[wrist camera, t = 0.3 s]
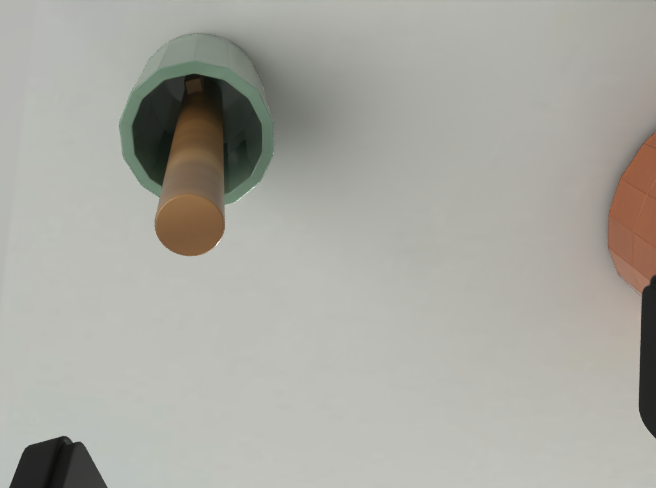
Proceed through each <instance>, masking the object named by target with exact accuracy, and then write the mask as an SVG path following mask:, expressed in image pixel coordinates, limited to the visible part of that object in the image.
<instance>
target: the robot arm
mask: <svg viewBox="0 0 656 488" xmlns="http://www.w3.org/2000/svg"><path fill="white" fill-rule="evenodd" d="M639 412H640V416H641V418H642V421H643V423H644V424H645V426H646V428H647V429H648V430H649V431H650V433H651V434H652V435H653V436H654V437H655V438H656V275H654V276H652V278H651V280H650V285H649V286H646V287H644V289H643V292H642V312H641V346H640V381H639ZM9 488H107V486H106V484H105V482H104V480H103V479H102V477H101V475H100V473H99V471H98V469H97V468H96V466H95V464H94V462H93V460H92V458H91V457H90V455H89V453H88V451H87V449H86V447H85V446H84V445H83V443H81V442H75V443H73V442H72V441H71V440H70V439H69V438H68V437H67V436H62V437H58V438H55V439H51V440H47V441H44V442H40V443H36V444H33V445H29V446H28V447H26V448H25V450H24V452H23V453H22V456H21V459H20V461H19V464H18V466H17V469H16V472H15V474H14V477H13V480H12V482H11V485H10V487H9Z"/></svg>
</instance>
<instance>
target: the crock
mask: <svg viewBox="0 0 656 488" xmlns="http://www.w3.org/2000/svg"><path fill="white" fill-rule="evenodd" d="M190 74H199V75H203V76H205V79H208V80H211V81H213V82H214V83H215V84H216V85H217V86H218V87H219V88H220V90H221V93H222V100H223V154H224V205H226V204H230V203H234V202H236V201H237V200H239V199H240V198H241V197H242V196H244V195H245V194H246V193H247V192H249V191H250V190H251V189H253V188H254V187H255V186H256V185H258V184H259V182H260V181H261V179H262V177H263V175H264V173H265V171H266V169H267V167H268V165H269V163H270V161H271V159H272V157H273V154H274V123H273V119H272V115H271V112H270V108H269V105H268V101H267V98H266V94H265V91H264V87H263V84H262V81H261V79H260V77H259V75H258V73H257V71H256V68H255V67H254V65H253V63H252V61H251V60H250V58H249V57H248V56H247V55H246V54H245V53H244V52H243V51H242V50H241V49H240V48H238V47H237V46H235V45H234V44H233V43H231V42H229V41H227V40H225V39H223V38H220V37H217V36H213V35H209V34H190V35H184V36H181V37H178V38H176V39H173V40H171V41H169V42H168V43H166V44H165V45H163V46H162V47H161V48H160V49H159V50H158V51H157V52H156V53H155V54H154V55H153V56H152V57H151V58H150V59H149V61H148V62H147V64H146V66H145V68H144V70H143V71H142V73H141V75H140V77H139V79H138V80H137V82H136V84H135V86H134V88H133V89H132V91H131V93H130V96H129V98H128V101H127V103H126V106H125V109H124V111H123V114H122V116H121V119H120V122H119V129H120V137H121V145H122V154H123V157H124V160H125V161H126V163H127V164H128V166H129V167H130V169H131V170H132V172H133V173H134V175H135V177H136V178H137V180H138V181H139V183H140V184H141V185H142V186H143V187H144V188H146V189H147V190H149V191H150V192H152V193H153V194H155V195H156V196H158V197H160V194H161V190H162V186H163V181H164V177H165V172H166V168H167V163H168V159H169V155H170V150H171V146H172V141H173V137H174V132H175V128H176V124H177V119H178V115H179V110H180V106H181V101H182V97H183V92H184V90H185V85H184V79H185V76H186V75H190Z"/></svg>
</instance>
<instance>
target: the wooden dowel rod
mask: <svg viewBox="0 0 656 488" xmlns="http://www.w3.org/2000/svg"><path fill="white" fill-rule="evenodd" d="M184 85H185V90H184V92H183V97H182V101H181V106H180V110H179V115H178V119H177V124H176V128H175V132H174V137H173V141H172V146H171V150H170V155H169V159H168V163H167V168H166V172H165V177H164V181H163V186H162V190H161V194H160V199H159V203H158V208H157V212H156V217H155V231H156V234H157V236H158V238H159V240H160V241H161V242H162V244H163V245H164V246H165V247H166V248H168V249H169V250H171V251H173V252H174V253H177V254H180V255H185V256H197V255H201V254H204V253H206V252H208V251H210V250H212V249H213V248H214V247H215V246H216V245H217V244H218V243H219V242H220V240H221V238H222V236H223V234H224V230H225V207H224V154H223V100H222V93H221V90H220V88H219V87H218V86H217V85H216V84H215V83H214V82H213V81H211V80H208V79H205V76H203V75H199V74H190V75H186V76H185V79H184Z"/></svg>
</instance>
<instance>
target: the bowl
mask: <svg viewBox="0 0 656 488" xmlns="http://www.w3.org/2000/svg"><path fill="white" fill-rule="evenodd" d="M608 248H609V251H610V254H611V256H612V259H613V262H614V265H615V267H616V270H617V273H618V274H619V276H620V277H621V278H622V279H623V280H624V281H625V282H626V283H627V284H628V285H629V286H630V287H631V288H632V289H633V290H634V291H635V292H636V293H637V294H639V295H640V296H641V297H642V292H643V289H644V287H646V286H649V285H650V280H651V278H652V276H654V275H656V132H655V133H654V134H653V135H652V136H651V137H650V138H649V139H648V140H647V141H646V142H645V143H644V144H643V145H642V146H641V148H640V150H639V151H638V153H637V154H636V156H635V157H634V159H633V160H632V162H631V163H630V165H629V166H628V168H627V169H626V171H625V172H624V174H623V175H622V177H621V179H620V181H619V184H618V187H617V190H616V193H615V196H614V199H613V202H612V205H611V208H610V211H609V227H608Z"/></svg>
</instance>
